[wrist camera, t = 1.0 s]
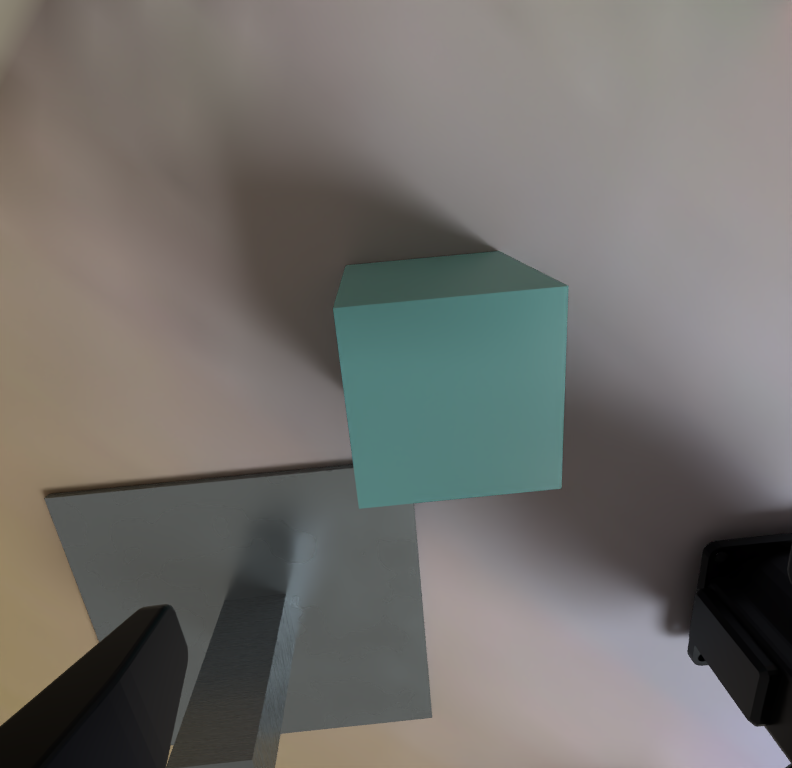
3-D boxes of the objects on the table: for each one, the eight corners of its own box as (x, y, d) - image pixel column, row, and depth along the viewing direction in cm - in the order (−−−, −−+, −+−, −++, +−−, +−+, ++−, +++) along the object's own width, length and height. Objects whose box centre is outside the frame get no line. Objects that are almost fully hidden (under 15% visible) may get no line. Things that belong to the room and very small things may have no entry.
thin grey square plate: (409, 458, 20) (429, 591, 14) (431, 711, 25) (453, 898, 19) (48, 494, 20) (-109, 646, 13) (142, 742, 25) (61, 941, 18)
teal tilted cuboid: (499, 251, 18) (568, 285, 11) (500, 393, 19) (561, 488, 13) (345, 265, 18) (332, 308, 11) (362, 406, 19) (359, 508, 13)
